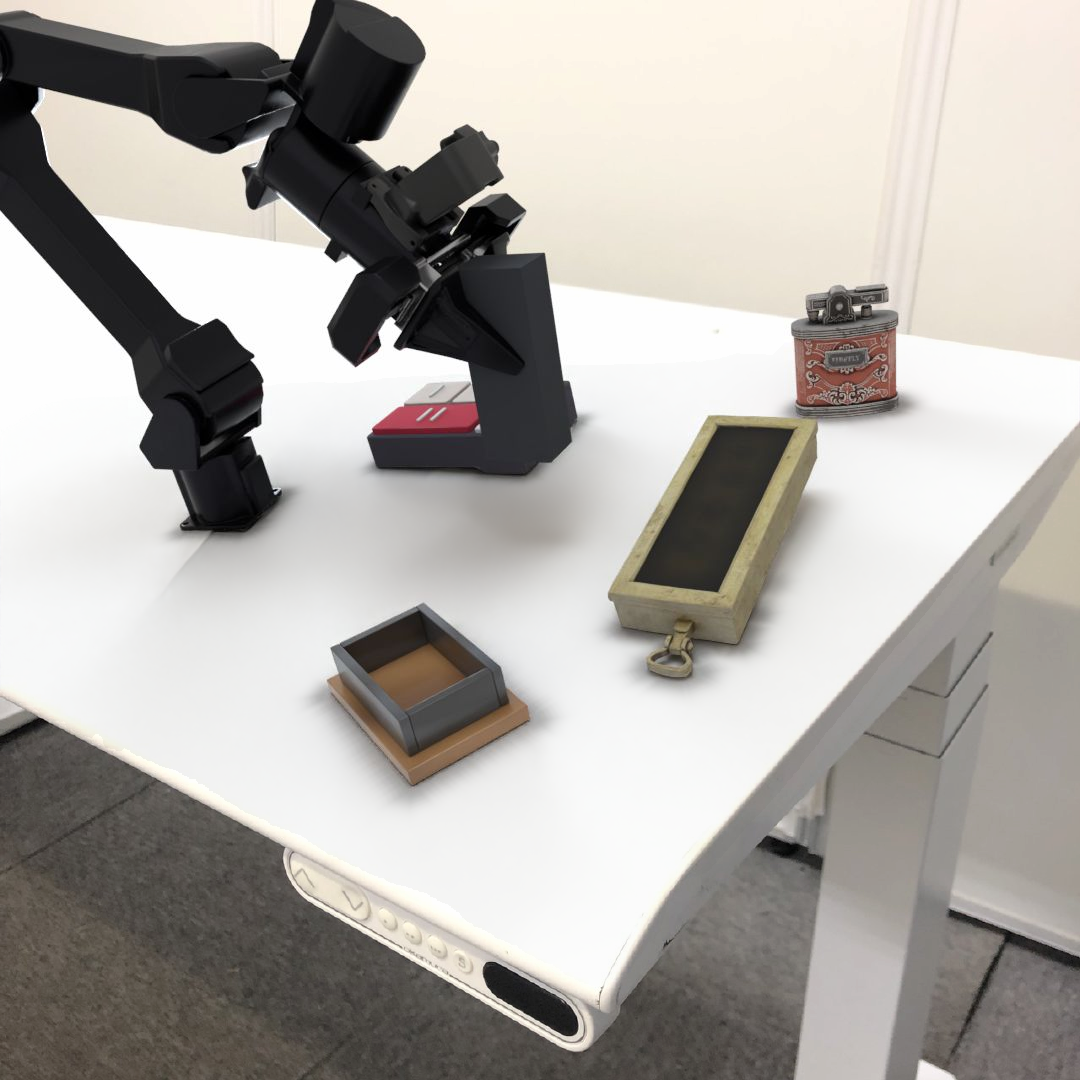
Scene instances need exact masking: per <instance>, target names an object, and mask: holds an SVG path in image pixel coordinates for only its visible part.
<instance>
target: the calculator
mask: <svg viewBox="0 0 1080 1080" xmlns="http://www.w3.org/2000/svg"><path fill="white" fill-rule="evenodd" d="M563 381H564V388H565V395H566V402H567V409H568V415H569V422H570V427H571V426H572V424H573V423H575V421H577V419H578V412H577V409H576V408H577V407H576V402H575V399H574V395H573V390H572V389H573V388H572V385H571V382H570V381H569V380H563ZM366 440H367V443H368V446H369V449H370V452H371V455H372V458H373V461H374V464H375V467H376V468H476V469H478V470H480V471H481V472H484V473H486V474H488V475H490V474H493V475H494V474H495V475H497V474H498V475H523V474H526V473H528V472H529V471H530V470H531V469H532V468H533V467H534V466H535V465H536V464H537V462H530V461H512V460H494V459H486V456H485V451H484V445H483V440H482V435H481V429H480V424H479V419H478V413H477V408H476V403H475V398H474V392H473V387H472V382H471V380H460V381H459V380H458V381H441V382H440V381H439V382H429V383H426V384H425V385H424V386H423V387H421V388H420V389H419V390H417V391H416V392H415V393H413V394H412V395H411V396H410V397H409V398H407V399H406V400H405V401H404V402H403V405H402V406H398V407H396V408H395V409H394V410H392V412H390V413H389V414H387V415H386V416H385V417H383V419H381V420H380V421H379V422H377V423H376V424H375V425H373V427H372V428H371V432H370V433H369V434H368V435H367V436H366Z"/></svg>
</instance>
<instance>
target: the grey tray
mask: <svg viewBox="0 0 1080 1080" xmlns="http://www.w3.org/2000/svg"><path fill="white" fill-rule="evenodd" d="M329 649H330V652H331V655H332V658H333V661H334V664H335V667H336V670H337V674H335V675H333V676H331V677H329V678H327V679H326V682H327V685H328V689H329V691H330V693H331V694H332V695H333V696H334V698H335V699H336V700H337V701H338V702H339V704H340V705H341V706H342V707H343V708H344V709H345V710H346V711H347V713H348V714H349V715H350V716H351V717H352V718H353V720H354V721H355V722H357V724H358V725H359V726H360V728H361V729H362V730H363V731H364V732H365V733H366V735H367V736H368V737H369V738H370V740H372V741H373V743H374V744H375V745H376V746H377V747H378V748H379V750H380V751H381V752H382V753H383V754H384V755H385V756H386V757H387V759H388V760H389V761H390V763H392V765H393V766H394V767H395V768H396V769H397V770H398V771H399V773H400V774H401V775H402V776H403V777H404V778H405V780H406V781H407V782H408V783H409V784H410V785H411V786H415V785H416V784H418V783H420V782H421V781H423V780H425V779H427V778H428V777H431V776H432V775H434V774H436V773H437V772H439V771H441V770H443V769H444V768H446V767H448V766H450V765H451V764H453V763H455V762H457V761H458V760H460V759H462V758H464V757H465V756H467V755H469V754H471V753H473V752H475V751H476V750H479V749H480V748H481V747H483V746H485V745H487V744H489V743H490V742H492V741H493V740H496V739H497V738H499V737H501V736H502V735H504V734H506V733H508V732H510V731H512V730H513V729H515V728H517V727H518V726H520V725H522V724H524V723H526V722H527V721H529V720H531V716H530V712H529V706H528V705H527V704H526V703H525V702H524V701H523V700H522V699H520V698H519V697H518V696H517V695H516V694H515V693H514V692H512V691H511V690H510V689H509V688H508V687H507V686H506V683H505V678H504V674H503V669H502V666H501V665H499V664H498V663H497V662H496V661H494V660H493V659H492V658H491V657H490V656H489V655H488V654H487V653H486V652H484V651H483V650H481V649H480V648H479V647H478V646H477V645H475V644H474V643H473V642H472V641H471V640H469V639H468V638H467V637H466V636H465V635H464V634H462V633H461V632H459V630H457V628H455V627H454V626H453V625H451V624H450V623H449V622H448V621H446V620H445V619H444V618H443V617H442V616H441V615H439V614H438V613H437V612H436V611H435V610H433V608H431V607H430V606H428V605H427V603H425V602H422V603H419V604H417V605H415V606H413V607H411V608H409V609H407V610H404V611H403V612H400V613H399V614H397V615H394V616H392V617H390V618H388V619H386V620H384V621H382V622H380V623H377V624H376V625H373V626H372V627H370V628H367V629H366V630H364V631H362V632H359V633H357V634H356V635H353V636H351V637H349V638H347V639H345V640H343V641H341V642H339V643H337V644H335V645H333V646H330V648H329Z"/></svg>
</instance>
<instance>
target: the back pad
mask: <svg viewBox="0 0 1080 1080" xmlns="http://www.w3.org/2000/svg"><path fill="white" fill-rule="evenodd" d="M457 268H458V271H459V275H460V279H461V282H462V286H463V290H464V294H465V297H466V299H467V301H468V302H469V304H471V305H472V306H473V307H474V308H475V309H476V310H477V311H478V312H479V313H480V314H481V315H482V316H483V318H484V319H485V320H486V321H487V322H488V323H489V324H490V325H491V326H492V327H493V328H494V329H495V330H496V331H497V332H498V333H499V334H500V335H501V336H502V337H503V338H504V339H505V340H506V341H507V342H508V343H509V344H510V345H511V346H512V347H513V349H514V350H515V351H516V352H517V353H518V355H519V356H520V357H521V358H522V359H523V360H524V362H525V366H524V367H523V368H522V370H521V371H520V372H519V373H518V374H517V375H510V374H507V373H503V372H500V371H496V370H493V369H489V368H486V367H482V366H479V365H475V364H472V363H468V362H467V366H468V370H469V377H470V382H471V385H472V387H473V392H474V398H475V403H476V408H477V413H478V419H479V424H480V429H481V435H482V440H483V445H484V451H485V456H486V459H494V460H512V461H530V462H536V463H546V464H547V463H549V464H551V463H553V461H554V460H556V459H557V458H558V457H559V456H560V455H561V454H562V453H563V452H564V450H565V449H567V448H568V447H569V446H570V445H571V443H573V436H572V430H571V426H570V422H569V415H568V409H567V402H566V395H565V388H564V381H565V380H564V375H563V368H562V360H561V355H560V347H559V340H558V333H557V325H556V320H555V313H554V312H555V311H554V306H553V299H552V298H553V297H552V293H551V285H550V284H551V283H550V279H549V271H548V264H547V258H546V252H528V253H527V252H526V253H507V254H501V255H478V256H475V257H473V258H472V259H470V260H468V261H466V262H465V263H463V264H461V265H459V266H458V267H457Z"/></svg>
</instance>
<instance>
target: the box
mask: <svg viewBox="0 0 1080 1080" xmlns="http://www.w3.org/2000/svg"><path fill="white" fill-rule="evenodd" d="M818 432H819V423H818V419H816V418H806V417H783V416H782V417H781V416H780V417H779V416H759V415H758V416H757V415H755V416H754V415H724V414H723V415H722V414H712V415H711V414H710V415H707V417H706V418H705V421H704V422H703V424H702V425H701V427H700V429H699V430H698V433H697V434H696V435H695V438H694V440H693V442H692V444H691V445H690V447H689V449H688V451H687V453H686V454H685V456H684V458H683V460H682V461H681V464H680V465H679V466H678V468H677V470H676V471H675V473H674V475H673V476H672V479H671V480H670V482H669V484H668V486H667V487H666V488H665V491H664V492H663V494H662V496H661V498H660V499H659V502H658V503H657V505H656V506H655V508H654V510H653V512H652V514H651V516H650V517H649V519H648V521H647V522H646V524H645V525H644V527H643V529H642V531H641V532H640V534H639V536H638V538H637V539H636V541H635V543H634V545H633V547H632V548H631V551H630V552H629V554H628V555H627V557H626V559H625V561H624V562H623V564H622V566H621V568H620V570H619V571H618V572H617V575H616V576H615V578H614V580H613V581H612V583H611V585H610V588H609V590H608V591H607V598H608V600H609V601H610V602H613V605H614V609H615V611H616V615H617V618H618V621H619V623H620V626H621V628H626V629H627V628H628V629H634V630H639V631H644V632H650V633H658V634H664V635H667V636H666V638H665V640H664V641H663V644H662V645H663V647H661V648H659V649H657V650H654V651H652V652H651V653H649V654H648V655H647V656H646V666H647V668H648V669H649V671H651V672H653V673H656V674H658V675H661V676H666V677H670V678H683V677H685V678H686V677H688V676H689V675H690V673H691V672H692V671H693V667H694V664H693V659H691V658H692V657H690V655H691V654H692V653H693V652H695V645H694V643H693V642H692V640H691V639H697V640H704V641H711V642H712V641H713V642H718V643H725V644H732V645H736V644H739V642H740V640H741V638H742V636H743V633H744V630H745V628H746V625H747V624H748V621H749V618H750V616H751V614H752V611H753V609H754V607H755V604H756V602H757V600H758V597H759V594H760V592H761V590H762V587H763V585H764V582H765V580H766V578H767V575H768V573H769V571H770V569H771V567H772V564H773V562H774V559H775V557H776V555H777V552H778V550H779V548H780V546H781V543H782V542H783V539H784V537H785V534H786V532H787V529H788V528H789V525H790V524H791V521H792V518H793V516H794V514H795V512H796V510H797V507H798V505H799V503H800V500H801V498H802V496H803V493H804V491H805V488H806V486H807V483H808V482H809V480H810V477H811V474H812V472H813V469H814V467H815V464H816V462H817V459H818V437H817V434H818ZM668 655H675V656H681V659H682V660H683V661H684V664H683V665H679V666H670V665H665V664H662V663H661V664H660V663H657V662H656V661H658V660H659V659H662V658H665V657H667V656H668Z"/></svg>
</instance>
